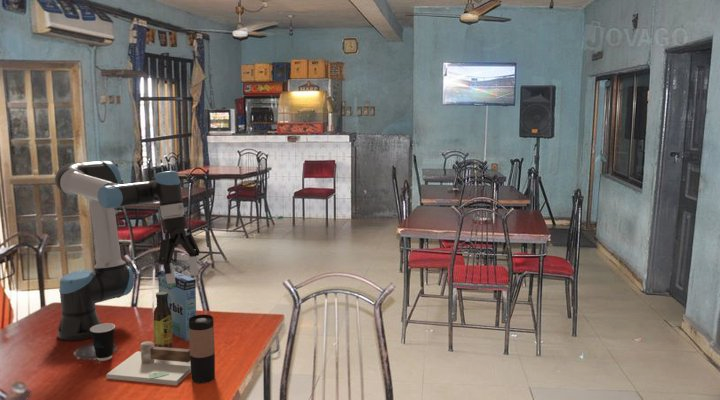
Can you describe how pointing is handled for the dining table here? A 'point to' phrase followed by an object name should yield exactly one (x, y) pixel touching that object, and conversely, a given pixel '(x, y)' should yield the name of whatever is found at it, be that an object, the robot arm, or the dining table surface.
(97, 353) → the dixie cup
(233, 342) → the dining table surface
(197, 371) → the travel mug
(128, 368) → the board
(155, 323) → the sauce bottle
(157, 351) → the grey hammer
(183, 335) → the gum box
